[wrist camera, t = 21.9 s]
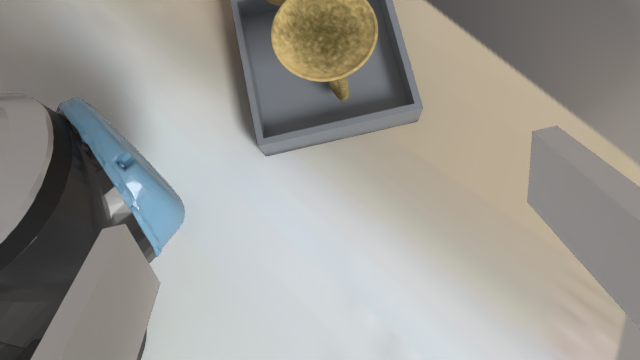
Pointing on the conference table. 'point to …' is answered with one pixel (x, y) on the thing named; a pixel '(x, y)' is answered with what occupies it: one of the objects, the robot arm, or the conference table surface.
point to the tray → (323, 85)
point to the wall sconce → (324, 39)
